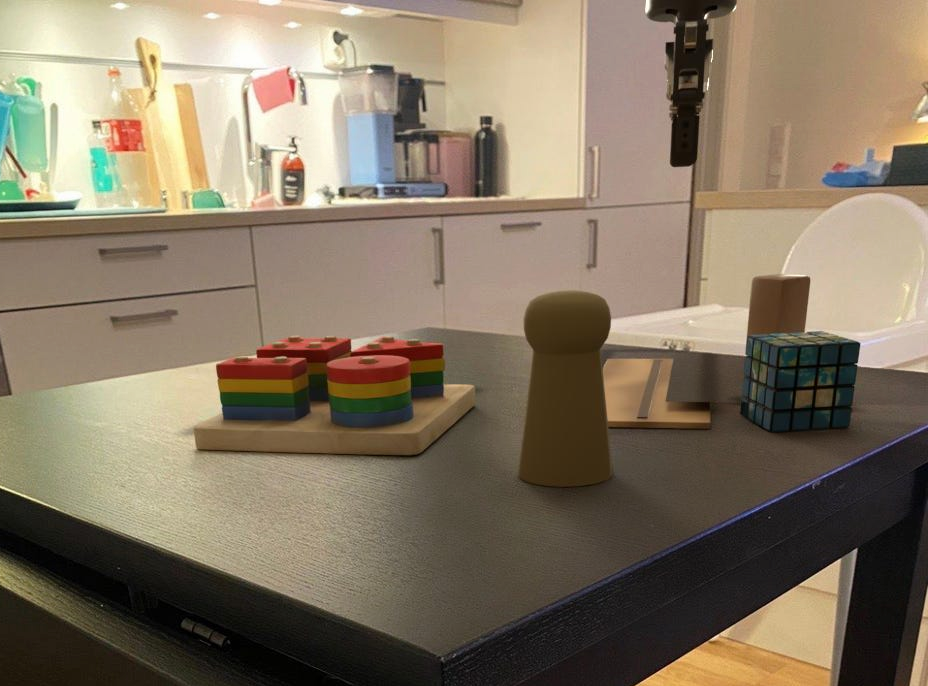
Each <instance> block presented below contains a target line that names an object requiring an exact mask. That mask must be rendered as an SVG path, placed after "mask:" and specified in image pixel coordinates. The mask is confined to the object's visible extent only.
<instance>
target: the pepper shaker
mask: <svg viewBox="0 0 928 686" xmlns="http://www.w3.org/2000/svg"><path fill="white" fill-rule="evenodd" d="M524 310H525V311H524V315H523V332H524V337H525V340H526V341H527V343H528V345H529V346H530V347H531V349H532V356H531V363H530V371H529V380H528V387H527V395H526V403H525V404H526V405H525V411H524V419H523V428H522V435H521V444H520V452H519V459H518V467H517V475H518V478H519V479H521V480H523V481H524V482H525V483H530V484H534V485H539V486H545V487H557V488H559V487H560V488H565V487H566V488H567V487H568V488H569V487H582V486H590V485H595V484H599V483H604V482H605V481H607V480H609V479H611V478H612V476H613V474H614V470H613V463H612V461H613V459H612V449H611V440H610V429H609V427H608V419H607V409H606V399H605V389H604V378H603V358H602V350H601V349H602V347H603V346H604V344H605V343H606V342H607V340H608V339H609V335H610V332H611V327H612V315H611V314H612V313H611V309H610V306H609V304H608V302H607V300H606V299H605V298H603V297H602V296H601V295H599V294H597V293H593V292H589V291H584V290H573V289H571V290H569V289H568V290H556V291H551V292H547V293H544V294H540V295H537V296H535V297H534V298H533V299H531V300H530V301H529V302H528V305H527V306H526V307H525V309H524Z"/></svg>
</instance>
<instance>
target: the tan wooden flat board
mask: <svg viewBox="0 0 928 686" xmlns="http://www.w3.org/2000/svg"><path fill="white" fill-rule="evenodd" d="M673 363H674V358H607V359H606V361H605V363H604V365H603V366H602V368H603V378H604V389H605V399H606V409H607V419H608V428H624V429H625V428H627V429H628V428H629V429H630V428H633V429H634V428H635V429H683V430H684V429H685V430H686V429H689V430H697V429H698V430H710V429H711V423H712V419H711V401H667V395H668V391H669V384H670V380H671V375H672V368H673Z"/></svg>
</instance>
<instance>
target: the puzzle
mask: <svg viewBox="0 0 928 686" xmlns="http://www.w3.org/2000/svg"><path fill="white" fill-rule="evenodd" d="M860 350H861V342H859V341H857V340H855V339H849V338H847V337H844V336H839V335H836V334H833V333H829V332H826V331H823V330H817V331H806V332H805V333H804V332H796V333H787V334H785V333H777V334H768V335H765V334H759V335H749V336H747V335H746V341H745V357H744V365H743V378H742V386H741V395H742V396H741V401H742V402H740V409H739V414H740V415H741V416H742V417H744V418H745V419H747V420H750V422H752V423H754V424H756V425H758V426H760V427H761V428H763V429H764V430H766V431H769V432H770V433H782V432H788V431H791V432H796V431H799V432H800V431H808V430H812V431H814V430H815V431H816V430H828V429H846V428H849V427H850V424H851V419H852V418H851V417H852V416H851V415H852V411H853V410H852V409H853V407H852V406H853V403H854V395H855V387H856V386H855V385H856V380H857V374H858V373H857V372H858V363H859V358H860Z"/></svg>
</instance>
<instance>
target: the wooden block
mask: <svg viewBox="0 0 928 686" xmlns="http://www.w3.org/2000/svg"><path fill="white" fill-rule="evenodd" d="M811 280H812V279H811V277H810V276H808V275H804V274H788V273H775V274H767V275H766V274H765V275H756V276H754V277H753V278H752V279H751V283H750V284H751V285H750V296H749V308H748V319H747V328H746V330H747V331H746V337H747V336H749V335H759V334H765V335H768V334H777V333H785V334H787V333H796V332H804V333H806V325H807V324H806V323H807V315H808V307H809V299H810V288H811Z"/></svg>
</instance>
